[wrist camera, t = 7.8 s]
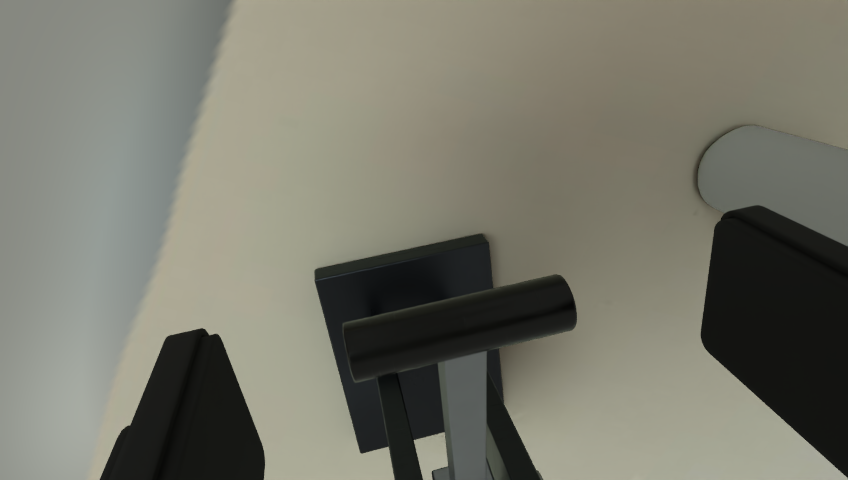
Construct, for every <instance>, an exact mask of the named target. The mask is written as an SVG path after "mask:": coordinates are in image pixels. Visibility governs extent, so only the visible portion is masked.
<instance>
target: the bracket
mask: <svg viewBox="0 0 848 480" xmlns="http://www.w3.org/2000/svg"><path fill="white" fill-rule="evenodd" d="M315 284H316V288H317V291H318V295H319V299H320V303H321V306H322V310H323V314H324V318H325V322H326V325H327V329H328V333H329V337H330V340H331V344H332V348H333V352H334V356H335V359H336V363H337V367H338V371H339V374H340V378H341V382H342V386H343V390H344V393H345V397H346V401H347V405H348V408H349V412H350V416H351V420H352V423H353V427H354V431H355V435H356V439H357V442H358V446H359V450H360V453H366V452H369V451H373V450H377V449H381V448H385V447H389V450H390V456H391V461H392V467H393V473H394V478H395V480H423V478H422V474H421V470H420V465H419V461H418V457H417V453H416V449H415V444H414V440H416V439H419V438H423V437H427V436H431V435H435V434H439V433H442V432H445V429H444V419H443V409H442V400H441V390H440V380H439V370H438V363H436V364H432V365H427V366H423V367H419V368H415V369H411V370H407V371H403V372H399V373H395V374H390V375H386V376H382V377H378V378H374V379H370V380H366V381H362V382H358V383H357V382H354V380H353V378H352V375H351V371H350V367H349V363H348V358H347V353H346V348H345V343H344V336H343V324H344V323H345V322H349V321H354V320H358V319H363V318H367V317H371V316H376V315H380V314H384V313H389V312H393V311H398V310H402V309H406V308H411V307H415V306H419V305H424V304H428V303H433V302H437V301H441V300H446V299H450V298H454V297H459V296H463V295H467V294H472V293H476V292H481V291H485V290H489V289H493V282H492V271H491V260H490V250H489V242H488V241H487V240H486V238H485V237H484V236H483V234H478V235H473V236H469V237H464V238H459V239H455V240H450V241H446V242H441V243H436V244H432V245H427V246H422V247H418V248H413V249H408V250H404V251H399V252H394V253H390V254H385V255H380V256H376V257H371V258H366V259H362V260H357V261H352V262H348V263H343V264H339V265H334V266H329V267H325V268H320V269H316V270H315ZM486 458H487V459H488V462H489V465H490V468H491V471H492V474H493V477H494V480H543V478H542V476H541V474H540V473H539V471H538V470H536V469H535V467H534V465H533V463H532V461H531V459H530V457H529V454H528V452H527V450H526V448H525V446H524V444H523V442H522V440H521V438H520V436H519V434H518V432H517V430H516V428H515V426H514V424H513V422H512V420H511V418H510V415H509V413H508V411H507V409H506V407H505V405H504V399H503V388H502V377H501V367H500V356H499V348H497V349H493V350H489V351H487V378H486Z"/></svg>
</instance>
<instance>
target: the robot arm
mask: <svg viewBox="0 0 848 480" xmlns="http://www.w3.org/2000/svg"><path fill="white" fill-rule="evenodd" d="M701 340H702V343H703V345H704V347H705V349H706V350H707V351H708V352H709V353H710V354H711V355H712V356H713V357H714V358H715V359H716V360H718V361H719V362H720V363H721V364H722V365H723V366H724V367H725V368H726V369H727V370H729V371H730V372H731V373H732V374H733V375H734V376H735V377H736V378H737V379H739V380H740V381H741V382H742V383H743V384H744V385H745V386H746V387H747V388H749V389H750V390H751V391H752V392H753V393H754V394H755V395H756V396H757V397H759V398H760V399H761V400H762V401H763V402H764V403H765V404H766V405H767V406H769V407H770V408H771V409H772V410H773V411H774V412H775V413H776V414H777V415H779V416H780V417H781V418H782V419H783V420H784V421H785V422H786V423H787V424H788V425H790V426H791V427H792V428H793V429H794V430H795V431H796V432H797V433H798V434H800V435H801V436H802V437H803V438H804V439H805V440H806V441H807V442H808V443H810V444H811V445H812V446H813V447H814V448H815V449H816V450H817V451H818V452H820V453H821V454H822V455H823V456H824V457H825V458H826V459H827V460H828V461H830V462H831V463H832V464H833V465H834V466H835V467H836V468H837V469H838V470H840V471H841V472H842V473H843V474H844V475H845V476H846V477H847V478H848V246H846V245H844V244H842V243H840V242H837V241H835V240H833V239H831V238H829V237H827V236H825V235H823V234H821V233H818V232H816V231H814V230H812V229H810V228H808V227H806V226H804V225H802V224H799V223H797V222H795V221H793V220H791V219H789V218H787V217H785V216H783V215H780V214H778V213H776V212H774V211H772V210H770V209H768V208H766V207H763V206H760V205H754V206H749V207H745V208H740V209H736V210H731V211H728V212H726V213H725V214H724V215H723V216H722V218H721V221H719V222H718V223H717V224H716V226H715V229H714V237H713V244H712V252H711V259H710V267H709V274H708V282H707V289H706V297H705V304H704V312H703V319H702V327H701ZM264 470H265V457H264V450H263V446H262V443H261V440H260V438H259V435H258V433H257V430H256V427H255V425H254V422H253V420H252V417H251V415H250V412H249V409H248V407H247V404H246V402H245V399H244V396H243V394H242V391H241V389H240V386H239V384H238V381H237V378H236V376H235V373H234V371H233V368H232V365H231V363H230V360H229V358H228V355H227V353H226V350H225V347H224V345H223V342H222V340H221V338H220V336H219V335H218V334H213V335H209V334H208V333H207V331H206V330H205V329H203V328H201V329H197V330H192V331H188V332H183V333H179V334H174V335H170V336H168V337H167V338H166V339H165V341H164V344H163V346H162V348H161V351H160V353H159V356H158V358H157V361H156V363H155V366H154V368H153V371H152V373H151V376H150V378H149V381H148V383H147V386H146V388H145V391H144V393H143V396H142V398H141V400H140V403H139V405H138V408H137V410H136V413H135V415H134V418H133V420H132V423H131V425H130V426H127V427H126V428H124V429H123V430H122V431H121V433H120V435H119V436H118V438H117V440H116V442H115V445H114V447H113V450H112V452H111V454H110V457H109V459H108V461H107V464H106V466H105V469H104V471H103V473H102V476H101V478H100V480H264Z"/></svg>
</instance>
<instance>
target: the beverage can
mask: <svg viewBox="0 0 848 480" xmlns="http://www.w3.org/2000/svg"><path fill="white" fill-rule="evenodd" d="M698 187H699V191H700V194H701V196H702V198H703V199H704V200H705V202H706V203H707V204H709V205H710V206H712V207H713V208H715V209H717V210H719V211H721V212H723V213H726V212H728V211H731V210H736V209H740V208H745V207H749V206H754V205H760V206H763V207H766V208H768V209H770V210H772V211H774V212H776V213H778V214H780V215H783V216H785V217H787V218H789V219H791V220H793V221H795V222H797V223H799V224H802V225H804V226H806V227H808V228H810V229H812V230H814V231H816V232H818V233H821V234H823V235H825V236H827V237H829V238H831V239H833V240H835V241H837V242H840V243H842V244H844V245H846V246H848V150H847V149H843V148H840V147H836V146H832V145H828V144H825V143H821V142H817V141H813V140H810V139H806V138H802V137H798V136H795V135H791V134H787V133H783V132H779V131H776V130H772V129H768V128H764V127H761V126H757V125H751V126H743V127H740V128H737V129H734V130H732V131H730V132H729V133H727V134H725V135H724V136H722V137H721V138H719V139H718V140H717V141H716V142H715V143H713V144H712V145H711V146H710V148H709V149H708V150H707V151H706V152H705V154H704V156H703V158H702V160H701V162H700V165H699V169H698Z"/></svg>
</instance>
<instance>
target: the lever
mask: <svg viewBox="0 0 848 480" xmlns="http://www.w3.org/2000/svg"><path fill="white" fill-rule="evenodd" d="M576 322H577V312H576V305H575V301H574V298H573V295H572V292H571V290H570V287H569V285H568V284H567V282H566V281H565V279H564V278H563V277H562V276H560V275H557V274H555V275H551V276H546V277H542V278H537V279H533V280H529V281H524V282H520V283H516V284H511V285H507V286H502V287H498V288H494V289H489V290H485V291H481V292H476V293H472V294H467V295H463V296H459V297H454V298H450V299H446V300H441V301H437V302H433V303H428V304H424V305H419V306H415V307H411V308H406V309H402V310H398V311H393V312H389V313H384V314H380V315H376V316H371V317H367V318H363V319H358V320H354V321H349V322H345V323H344V324H343V336H344V343H345V348H346V353H347V358H348V363H349V367H350V371H351V375H352V378H353V380H354V382H357V383H358V382H362V381H366V380H370V379H374V378H378V377H382V376H386V375H390V374H395V373H399V372H403V371H407V370H411V369H415V368H419V367H423V366H427V365H432V364H436V363H438V370H439V380H440V390H441V400H442V409H443V419H444V429H445V439H446V449H447V458H448V467H444V468H440V469H437V470H433V471H432V478H433V480H494V477H493V474H492V471H491V468H490V465H489V462H488V459H487V458H486V378H487V351H489V350H493V349H497V348H501V347H506V346H510V345H514V344H518V343H522V342H526V341H530V340H534V339H538V338H543V337H547V336H551V335H555V334H559V333H563V332H567V331H571V330H573V329H574V328H575V326H576Z"/></svg>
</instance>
